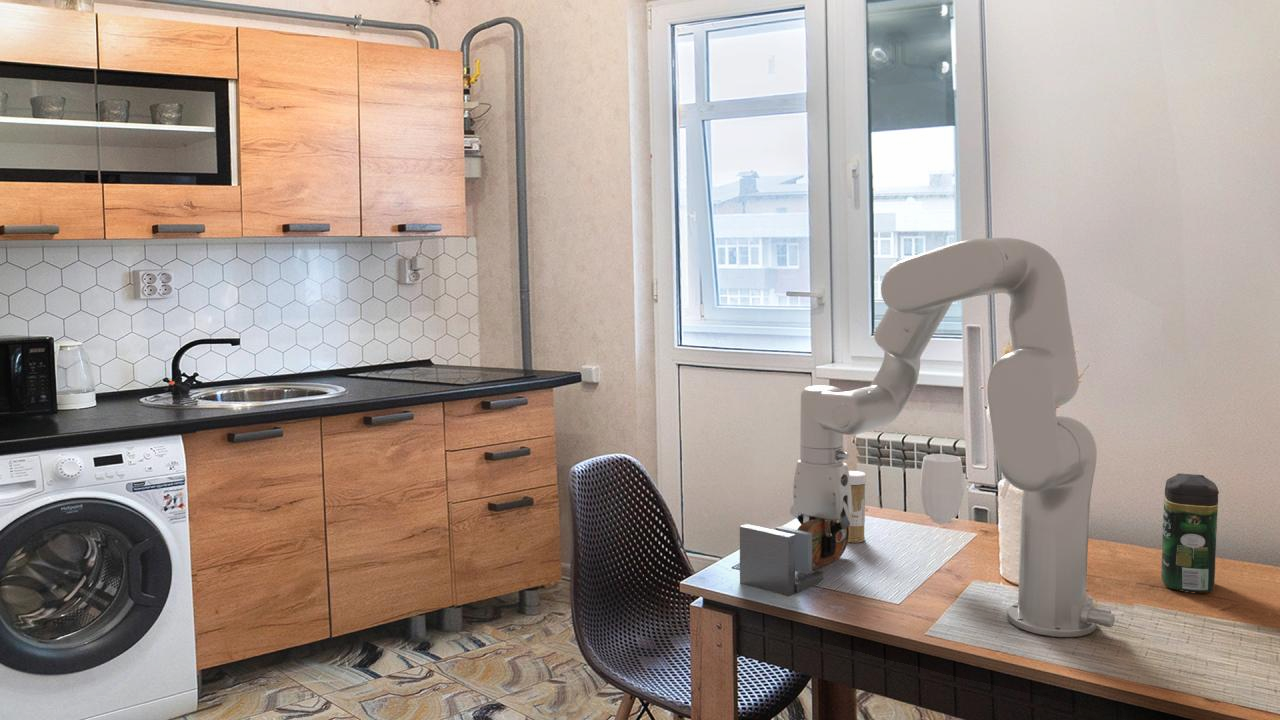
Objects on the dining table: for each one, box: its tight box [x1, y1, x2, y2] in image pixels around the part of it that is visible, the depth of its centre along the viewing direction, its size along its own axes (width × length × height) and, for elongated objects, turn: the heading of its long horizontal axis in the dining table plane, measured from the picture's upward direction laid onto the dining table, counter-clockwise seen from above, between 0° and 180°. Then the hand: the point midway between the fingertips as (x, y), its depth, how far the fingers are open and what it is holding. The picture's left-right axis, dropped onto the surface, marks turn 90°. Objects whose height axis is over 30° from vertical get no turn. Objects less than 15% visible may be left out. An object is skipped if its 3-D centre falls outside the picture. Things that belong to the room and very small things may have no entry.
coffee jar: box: [1161, 473, 1220, 594], centre depth 169 cm, size 10×8×19 cm
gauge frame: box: [739, 523, 824, 597], centre depth 175 cm, size 11×10×10 cm
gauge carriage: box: [774, 525, 813, 575], centre depth 178 cm, size 9×1×7 cm, turn 47°
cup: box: [919, 453, 965, 525], centre depth 177 cm, size 7×7×21 cm
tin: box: [796, 516, 849, 571], centre depth 184 cm, size 15×3×8 cm, turn 137°
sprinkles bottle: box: [847, 470, 867, 544], centre depth 198 cm, size 5×5×13 cm
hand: (820, 553), depth 184 cm, fingers closed on tin, 2 cm apart
